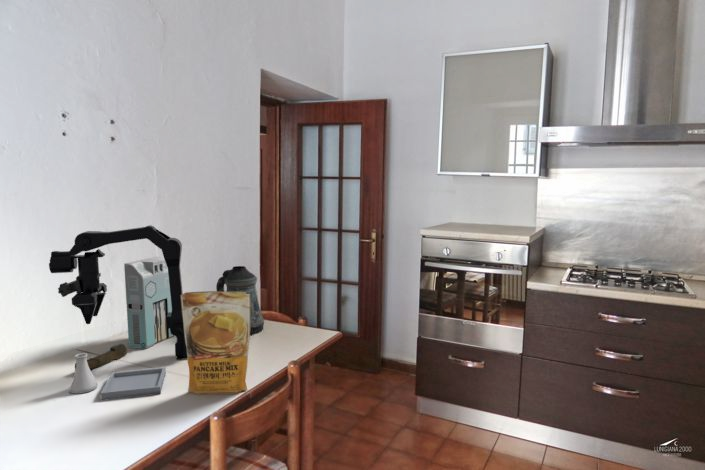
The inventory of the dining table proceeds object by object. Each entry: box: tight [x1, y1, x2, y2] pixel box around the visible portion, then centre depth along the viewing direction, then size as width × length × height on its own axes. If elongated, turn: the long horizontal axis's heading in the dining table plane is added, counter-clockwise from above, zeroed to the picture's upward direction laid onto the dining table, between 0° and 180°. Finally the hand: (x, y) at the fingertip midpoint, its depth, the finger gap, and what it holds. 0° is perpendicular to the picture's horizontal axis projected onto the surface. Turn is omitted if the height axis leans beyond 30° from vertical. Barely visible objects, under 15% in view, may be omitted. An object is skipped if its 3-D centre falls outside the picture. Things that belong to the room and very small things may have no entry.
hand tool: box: [74, 343, 128, 371], centre depth 162 cm, size 19×4×5 cm, turn 157°
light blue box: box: [123, 256, 175, 350], centre depth 183 cm, size 16×8×30 cm, turn 162°
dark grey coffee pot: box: [215, 265, 265, 336], centre depth 196 cm, size 16×19×25 cm
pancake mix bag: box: [180, 290, 251, 395], centre depth 140 cm, size 7×19×28 cm, turn 92°
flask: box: [68, 352, 98, 394], centre depth 142 cm, size 7×7×10 cm
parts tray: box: [100, 366, 167, 401], centre depth 144 cm, size 15×15×2 cm
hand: (91, 319), depth 160 cm, fingers open, 9 cm apart
